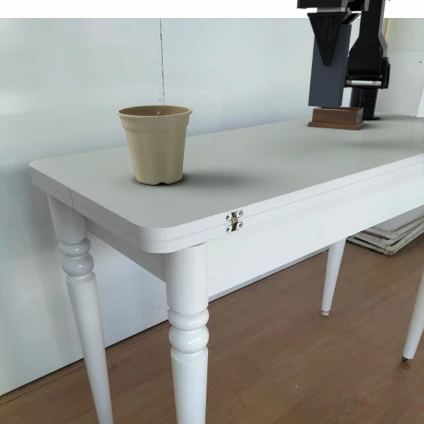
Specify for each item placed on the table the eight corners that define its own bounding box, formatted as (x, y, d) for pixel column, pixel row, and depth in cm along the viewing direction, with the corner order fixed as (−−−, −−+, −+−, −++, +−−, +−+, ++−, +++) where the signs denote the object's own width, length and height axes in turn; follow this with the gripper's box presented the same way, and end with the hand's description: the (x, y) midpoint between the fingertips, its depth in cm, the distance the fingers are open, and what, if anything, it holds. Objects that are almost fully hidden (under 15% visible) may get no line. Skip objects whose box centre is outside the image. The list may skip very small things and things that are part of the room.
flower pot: (186, 190, 56) (183, 116, 51) (113, 187, 57) (104, 114, 52) (200, 171, 64) (198, 105, 59) (135, 169, 65) (129, 104, 60)
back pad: (312, 104, 76) (320, 24, 70) (341, 105, 74) (352, 24, 68) (307, 106, 74) (315, 24, 69) (337, 108, 72) (348, 24, 66)
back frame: (317, 121, 99) (319, 104, 97) (364, 124, 95) (366, 107, 93) (308, 126, 94) (309, 109, 92) (356, 129, 89) (359, 112, 88)
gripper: (392, -79, 53) (369, 70, 61) (412, -56, 67) (391, 62, 75) (300, -69, 57) (291, 68, 65) (337, -50, 72) (325, 61, 80)
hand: (329, 64), depth 71 cm, fingers closed on back pad, 2 cm apart
